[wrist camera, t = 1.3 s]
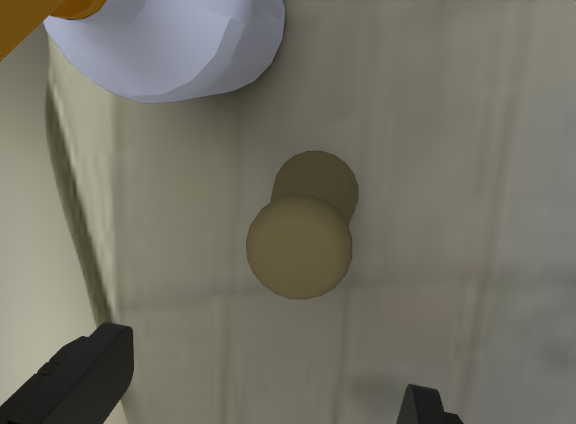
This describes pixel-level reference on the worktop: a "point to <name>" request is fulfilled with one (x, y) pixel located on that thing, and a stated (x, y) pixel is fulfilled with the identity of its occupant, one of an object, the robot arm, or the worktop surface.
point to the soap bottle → (155, 42)
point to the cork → (305, 227)
